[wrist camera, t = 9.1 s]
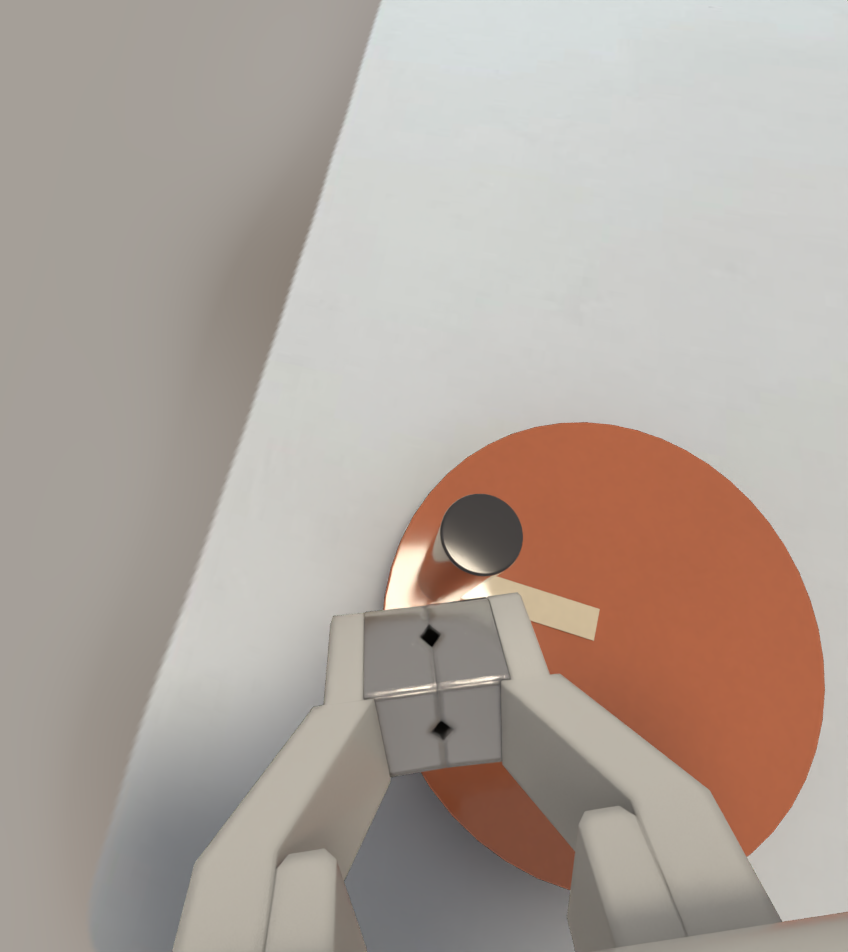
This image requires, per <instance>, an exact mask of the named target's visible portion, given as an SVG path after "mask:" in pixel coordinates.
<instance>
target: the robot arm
mask: <svg viewBox="0 0 848 952" xmlns="http://www.w3.org/2000/svg"><path fill="white" fill-rule="evenodd" d="M495 762H502V765H503V766H504V767H505V768H506V770H507V771H508V772H509V773H510V774H511V776H512V777H513V778H514V779H515V780H516V782H517V783H518V784H519V785H520V786H521V788H522V789H523V790H524V791H525V792H526V793H527V795H528V796H529V797H530V798H531V799H532V801H533V802H534V803H535V804H536V805H537V807H538V808H539V809H540V810H541V811H542V813H543V814H544V815H545V816H546V817H547V819H548V820H549V821H550V822H551V823H552V825H553V826H554V827H555V828H556V829H557V831H558V832H559V833H560V834H561V835H562V837H563V838H564V839H565V840H566V841H567V843H568V844H569V845H570V846H571V847H572V848H573V850H574V851H575V857H574V865H573V873H572V881H571V889H570V897H569V905H568V913H567V921H568V925H569V929H570V933H571V936H572V940H573V944H574V948H575V952H848V912H843V913H837V914H830V915H824V916H817V917H811V918H804V919H798V920H792V921H785V922H782V920H781V919H780V917H779V915H778V913H777V911H776V910H775V908H774V906H773V904H772V902H771V900H770V899H769V897H768V895H767V893H766V891H765V890H764V888H763V886H762V884H761V882H760V880H759V879H758V877H757V875H756V873H755V871H754V870H753V868H752V866H751V864H750V862H749V861H748V859H747V857H746V855H745V853H744V851H743V850H742V848H741V846H740V844H739V842H738V841H737V839H736V837H735V835H734V833H733V831H732V830H731V828H730V826H729V824H728V822H727V821H726V819H725V817H724V815H723V813H722V812H721V810H720V808H719V806H718V804H717V802H716V801H715V799H714V797H713V795H712V793H711V792H710V790H709V789H708V788H706V787H705V786H704V785H702V784H701V783H700V782H699V781H697V780H696V779H695V778H693V777H692V776H691V775H690V774H688V773H687V772H686V771H684V770H683V769H682V768H681V767H679V766H678V765H677V764H675V763H674V762H673V761H672V760H670V759H669V758H668V757H666V756H665V755H664V754H663V753H661V752H660V751H659V750H657V749H656V748H655V747H654V746H652V745H651V744H650V743H649V742H647V741H646V740H645V739H643V738H642V737H641V736H640V735H638V734H637V733H636V732H634V731H633V730H632V729H631V728H629V727H628V726H627V725H625V724H624V723H623V722H622V721H620V720H619V719H618V718H616V717H615V716H614V715H613V714H611V713H610V712H609V711H607V710H606V709H605V708H604V707H602V706H601V705H600V704H598V703H597V702H596V701H595V700H593V699H592V698H591V697H589V696H588V695H587V694H586V693H584V692H583V691H582V690H580V689H579V688H578V687H577V686H575V685H574V684H573V683H572V682H570V681H569V680H568V679H566V678H565V677H564V676H563V675H561V674H550V673H549V670H548V668H547V665H546V662H545V659H544V657H543V654H542V651H541V648H540V646H539V643H538V640H537V638H536V635H535V632H534V629H533V627H532V624H531V621H530V618H529V616H528V613H527V610H526V607H525V605H524V602H523V599H522V597H521V595H520V594H519V593H518V592H515V593H508V594H501V595H494V596H487V598H486V597H481V598H474V599H466V600H459V601H452V602H445V603H438V604H430V605H426V606H417V607H407V608H397V609H388V610H378V611H369V612H365V613H357V614H347V615H337V616H333V618H332V621H331V624H330V634H329V646H328V658H327V670H326V682H325V694H324V705H321V706H315V707H313V708H312V709H311V711H310V712H309V713H308V715H307V716H306V717H305V719H304V720H303V721H302V723H301V724H300V725H299V727H298V728H297V729H296V730H295V732H294V733H293V734H292V736H291V737H290V738H289V740H288V741H287V742H286V744H285V745H284V746H283V748H282V749H281V750H280V752H279V753H278V754H277V755H276V757H275V758H274V759H273V761H272V762H271V763H270V765H269V766H268V767H267V769H266V770H265V771H264V773H263V774H262V775H261V777H260V778H259V779H258V780H257V782H256V783H255V784H254V786H253V787H252V788H251V790H250V791H249V792H248V794H247V795H246V796H245V798H244V799H243V800H242V802H241V803H240V804H239V805H238V807H237V808H236V809H235V811H234V812H233V813H232V815H231V816H230V817H229V819H228V820H227V821H226V823H225V824H224V825H223V827H222V828H221V829H220V831H219V832H218V833H217V834H216V836H215V837H214V838H213V840H212V841H211V842H210V844H209V845H208V846H207V848H206V849H205V850H204V852H203V853H202V854H201V856H200V857H199V858H198V859H197V861H196V862H195V864H194V868H193V871H192V875H191V879H190V883H189V887H188V891H187V895H186V899H185V903H184V907H183V911H182V915H181V919H180V923H179V927H178V930H177V934H176V938H175V942H174V946H173V950H172V952H367V948H366V945H365V942H364V939H363V936H362V933H361V930H360V927H359V924H358V921H357V918H356V915H355V912H354V910H353V907H352V904H351V901H350V898H349V895H348V892H347V889H346V886H345V883H344V881H345V878H346V876H347V874H348V872H349V870H350V868H351V866H352V863H353V861H354V859H355V857H356V855H357V853H358V851H359V848H360V846H361V844H362V842H363V840H364V838H365V836H366V834H367V831H368V829H369V827H370V825H371V823H372V821H373V819H374V816H375V814H376V812H377V810H378V808H379V806H380V804H381V801H382V799H383V797H384V795H385V793H386V791H387V789H388V787H389V784H390V782H391V779H390V777H396V776H402V775H408V774H413V773H419V772H425V771H431V770H437V769H443V768H450V767H459V766H468V765H477V764H486V763H495Z"/></svg>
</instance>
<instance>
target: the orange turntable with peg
mask: <svg viewBox="0 0 848 952" xmlns="http://www.w3.org/2000/svg"><path fill="white" fill-rule="evenodd" d="M515 592H518V593H519V594H520V595H521V597H522V599H523V602H524V605H525V607H526V610H527V613H528V616H529V618H530V621H531V624H532V627H533V629H534V632H535V635H536V638H537V640H538V643H539V646H540V648H541V651H542V654H543V657H544V659H545V662H546V665H547V668H548V670H549V673H550V674H561V675H563V676H564V677H565V678H566V679H568V680H569V681H570V682H572V683H573V684H574V685H575V686H577V687H578V688H579V689H580V690H582V691H583V692H584V693H586V694H587V695H588V696H589V697H591V698H592V699H593V700H595V701H596V702H597V703H598V704H600V705H601V706H602V707H604V708H605V709H606V710H607V711H609V712H610V713H611V714H613V715H614V716H615V717H616V718H618V719H619V720H620V721H622V722H623V723H624V724H625V725H627V726H628V727H629V728H631V729H632V730H633V731H634V732H636V733H637V734H638V735H640V736H641V737H642V738H643V739H645V740H646V741H647V742H649V743H650V744H651V745H652V746H654V747H655V748H656V749H657V750H659V751H660V752H661V753H663V754H664V755H665V756H666V757H668V758H669V759H670V760H672V761H673V762H674V763H675V764H677V765H678V766H679V767H681V768H682V769H683V770H684V771H686V772H687V773H688V774H690V775H691V776H692V777H693V778H695V779H696V780H697V781H699V782H700V783H701V784H702V785H704V786H705V787H706V788H708V789H709V790H710V792H711V793H712V795H713V797H714V799H715V801H716V802H717V804H718V806H719V808H720V810H721V812H722V813H723V815H724V817H725V819H726V821H727V822H728V824H729V826H730V828H731V830H732V831H733V833H734V835H735V837H736V839H737V841H738V842H739V844H740V846H741V848H742V850H743V851H744V853H745V855H746V857H747V856H749V855H750V854H751V853H752V852H753V851H754V850H755V849H756V848H758V847H759V846H760V845H761V844H762V843H763V842H764V841H765V840H766V839H767V838H768V837H769V836H770V835H771V834H772V833H773V832H774V830H775V829H776V828H777V826H778V825H779V823H780V822H781V821H782V819H783V818H784V817H785V815H786V814H787V813H788V811H789V810H790V808H791V807H792V805H793V803H794V801H795V800H796V798H797V796H798V794H799V792H800V790H801V788H802V786H803V784H804V782H805V781H806V778H807V775H808V772H809V770H810V767H811V764H812V761H813V758H814V756H815V753H816V749H817V745H818V740H819V735H820V730H821V725H822V720H823V708H824V695H825V682H824V660H823V653H822V647H821V641H820V635H819V629H818V625H817V622H816V618H815V615H814V611H813V608H812V604H811V601H810V598H809V596H808V593H807V591H806V588H805V586H804V583H803V581H802V578H801V576H800V573H799V571H798V569H797V567H796V566H795V564H794V562H793V560H792V558H791V556H790V554H789V552H788V551H787V549H786V547H785V545H784V544H783V542H782V541H781V539H780V538H779V536H778V535H777V534H776V532H775V531H774V529H773V528H772V526H771V525H770V523H769V522H768V521H767V519H766V518H765V517H764V516H763V515H762V514H761V512H760V511H759V510H758V509H757V508H756V506H755V505H754V504H753V503H752V502H751V501H750V500H749V499H748V498H747V497H746V496H745V495H744V494H743V493H742V492H741V491H740V490H739V489H738V488H737V487H736V486H735V485H734V484H733V483H732V482H731V481H730V480H728V479H727V478H726V477H724V476H723V475H722V474H720V473H719V472H718V471H717V470H715V469H714V468H713V467H711V466H710V465H709V464H707V463H706V462H704V461H702V460H701V459H699V458H698V457H696V456H694V455H693V454H691V453H689V452H688V451H686V450H684V449H682V448H680V447H678V446H676V445H674V444H672V443H670V442H667V441H665V440H663V439H661V438H658V437H655V436H652V435H649V434H646V433H643V432H641V431H638V430H634V429H629V428H624V427H620V426H615V425H609V424H599V423H588V422H580V423H558V424H551V425H545V426H539V427H534V428H531V429H527V430H524V431H520V432H517V433H514V434H511V435H508V436H506V437H504V438H502V439H499V440H497V441H495V442H493V443H490V444H488V445H487V446H485V447H483V448H482V449H480V450H479V451H477V452H475V453H474V454H472V455H470V456H469V457H467V458H466V459H465V460H464V461H462V462H461V463H460V464H459V465H457V466H456V467H455V468H454V469H453V470H451V471H450V472H449V473H448V474H447V475H446V476H445V477H444V478H443V479H442V480H441V481H440V482H439V483H438V484H437V485H436V487H435V488H434V489H433V490H432V491H431V492H430V493H429V494H428V496H427V497H426V499H425V500H424V501H423V503H422V504H421V506H420V507H419V509H418V510H417V511H416V513H415V514H414V516H413V518H412V520H411V521H410V523H409V525H408V527H407V529H406V531H405V533H404V535H403V537H402V539H401V541H400V544H399V546H398V549H397V552H396V555H395V558H394V560H393V563H392V566H391V569H390V574H389V578H388V583H387V587H386V592H385V597H384V607H383V610H388V609H397V608H407V607H417V606H426V605H430V604H438V603H445V602H452V601H459V600H466V599H474V598H481V597H486V598H487V596H494V595H501V594H508V593H515ZM421 773H422V775H423V777H424V779H425V780H426V782H427V784H428V785H429V787H430V788H431V790H432V791H433V792H434V793H435V795H436V796H437V797H438V799H439V800H440V801H441V802H442V804H443V805H444V806H445V807H446V809H447V810H448V811H449V812H450V814H451V815H452V816H453V817H454V818H455V819H456V820H457V821H458V822H459V823H460V824H461V825H462V826H463V827H464V828H465V829H466V830H467V831H468V832H469V833H470V834H471V835H472V836H473V837H474V838H475V839H476V840H478V841H479V842H480V843H482V844H483V845H484V846H486V847H487V848H488V849H490V850H491V851H492V852H494V853H495V854H496V855H498V856H499V857H500V858H502V859H503V860H505V861H506V862H508V863H510V864H511V865H513V866H515V867H517V868H519V869H521V870H522V871H524V872H526V873H528V874H530V875H532V876H533V877H535V878H538V879H540V880H543V881H546V882H548V883H551V884H554V885H557V886H559V887H562V888H565V889H567V890H570V889H571V881H572V873H573V865H574V857H575V851H574V850H573V848H572V847H571V846H570V845H569V844H568V843H567V841H566V840H565V839H564V838H563V837H562V835H561V834H560V833H559V832H558V831H557V829H556V828H555V827H554V826H553V825H552V823H551V822H550V821H549V820H548V819H547V817H546V816H545V815H544V814H543V813H542V811H541V810H540V809H539V808H538V807H537V805H536V804H535V803H534V802H533V801H532V799H531V798H530V797H529V796H528V795H527V793H526V792H525V791H524V790H523V789H522V788H521V786H520V785H519V784H518V783H517V782H516V780H515V779H514V778H513V777H512V776H511V774H510V773H509V772H508V771H507V770H506V768H505V767H504V766H503V765H502V762H495V763H486V764H477V765H468V766H459V767H450V768H443V769H437V770H431V771H425V772H421Z"/></svg>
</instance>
